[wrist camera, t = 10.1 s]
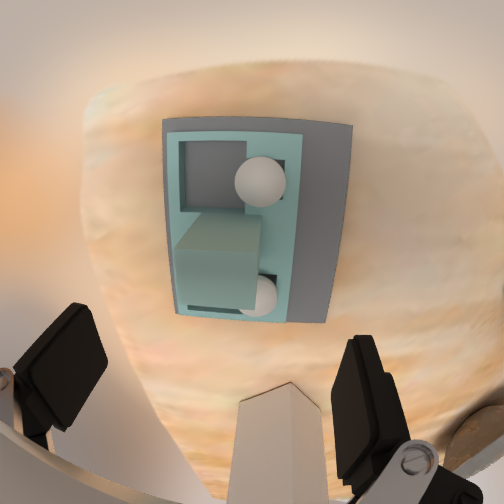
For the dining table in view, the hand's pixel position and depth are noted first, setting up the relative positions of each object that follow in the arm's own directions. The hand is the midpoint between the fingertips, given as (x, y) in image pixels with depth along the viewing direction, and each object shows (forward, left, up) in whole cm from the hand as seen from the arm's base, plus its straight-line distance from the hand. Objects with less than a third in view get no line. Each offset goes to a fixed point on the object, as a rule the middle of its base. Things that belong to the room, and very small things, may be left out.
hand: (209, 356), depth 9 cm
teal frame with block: (+1, 0, -13) cm, 13 cm away
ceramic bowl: (-45, +35, -14) cm, 58 cm away
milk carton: (-5, +22, -14) cm, 26 cm away
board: (-1, 0, -14) cm, 14 cm away
